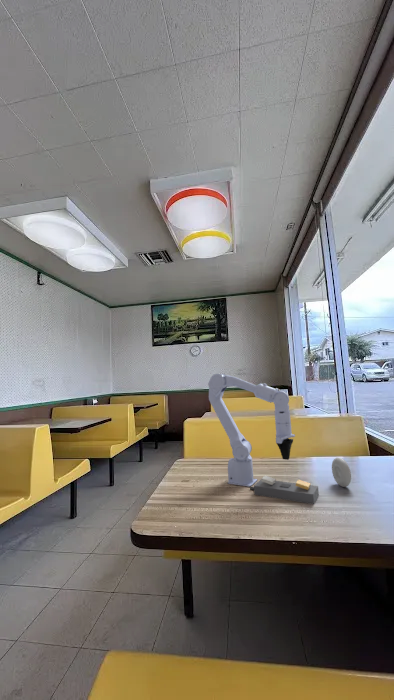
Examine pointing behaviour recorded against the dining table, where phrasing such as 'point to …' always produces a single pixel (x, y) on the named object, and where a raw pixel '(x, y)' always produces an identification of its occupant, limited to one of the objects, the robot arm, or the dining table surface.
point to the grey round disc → (341, 472)
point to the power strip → (286, 491)
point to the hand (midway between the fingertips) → (286, 459)
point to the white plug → (268, 480)
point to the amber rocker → (303, 484)
